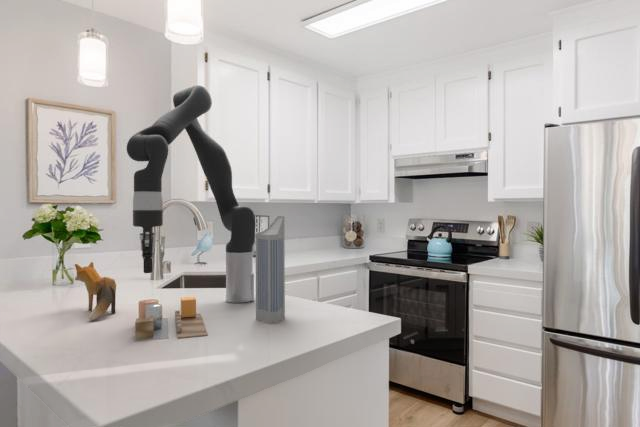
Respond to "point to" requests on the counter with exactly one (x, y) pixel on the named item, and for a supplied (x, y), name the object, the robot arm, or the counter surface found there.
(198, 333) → the rail
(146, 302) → the salmon domed cylinder
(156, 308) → the metal canister
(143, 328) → the oak block
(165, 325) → the slate tray
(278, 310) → the building model
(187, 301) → the orange block
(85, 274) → the toy
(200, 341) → the counter surface
